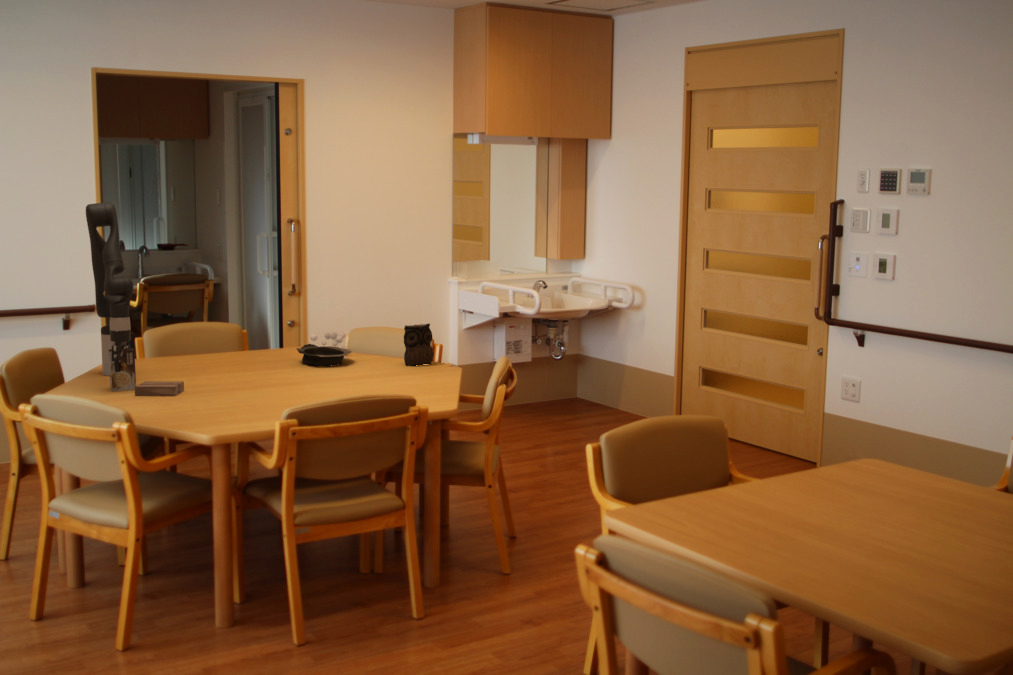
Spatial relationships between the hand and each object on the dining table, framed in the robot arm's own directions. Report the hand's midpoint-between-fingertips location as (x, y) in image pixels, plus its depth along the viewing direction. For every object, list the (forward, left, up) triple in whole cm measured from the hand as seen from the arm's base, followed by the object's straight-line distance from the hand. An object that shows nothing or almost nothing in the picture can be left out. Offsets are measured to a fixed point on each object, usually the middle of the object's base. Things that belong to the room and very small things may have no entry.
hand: (121, 370), depth 382 cm
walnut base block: (+7, +16, -8) cm, 19 cm away
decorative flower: (-85, +69, -8) cm, 110 cm away
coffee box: (0, 0, -8) cm, 8 cm away
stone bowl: (-62, +71, -8) cm, 94 cm away
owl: (-59, +113, -8) cm, 128 cm away
